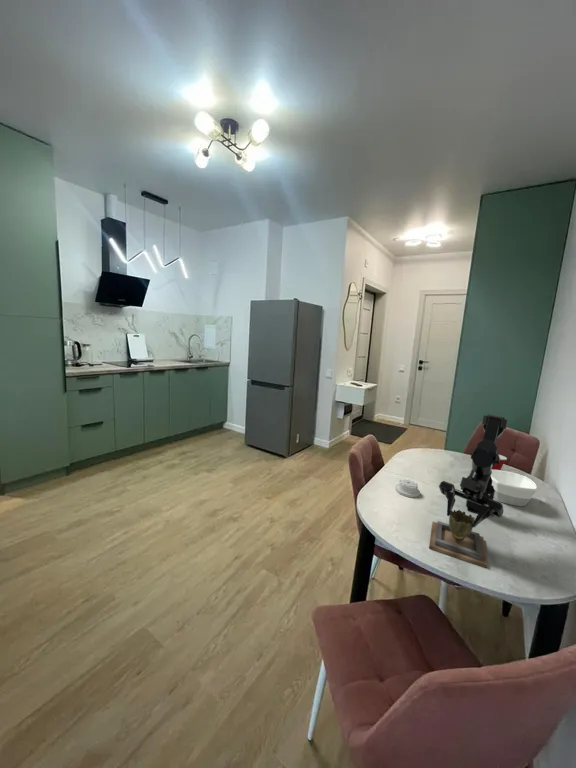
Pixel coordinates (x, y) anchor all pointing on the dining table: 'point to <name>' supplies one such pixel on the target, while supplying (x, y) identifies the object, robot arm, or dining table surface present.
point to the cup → (460, 524)
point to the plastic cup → (501, 462)
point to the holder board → (458, 544)
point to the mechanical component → (407, 488)
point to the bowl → (512, 487)
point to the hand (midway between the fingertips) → (460, 521)
